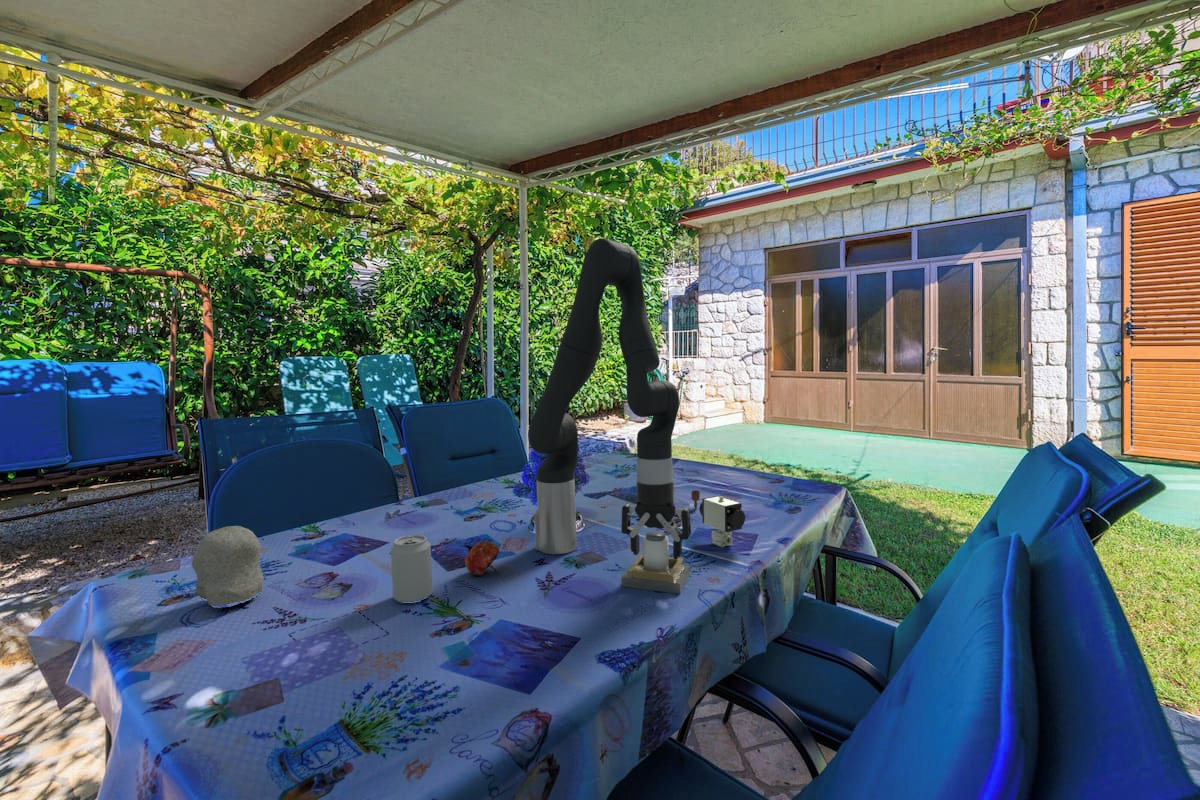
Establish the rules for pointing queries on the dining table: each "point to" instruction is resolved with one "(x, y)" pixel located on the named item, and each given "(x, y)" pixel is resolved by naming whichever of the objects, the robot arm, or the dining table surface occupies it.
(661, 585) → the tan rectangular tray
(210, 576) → the stone
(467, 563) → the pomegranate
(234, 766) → the dining table surface
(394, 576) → the can
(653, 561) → the white plastic jar
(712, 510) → the pneumatic valve
